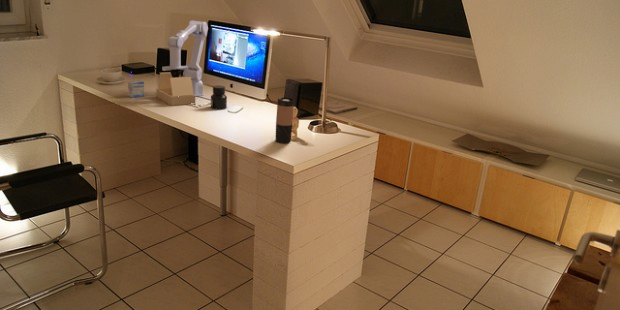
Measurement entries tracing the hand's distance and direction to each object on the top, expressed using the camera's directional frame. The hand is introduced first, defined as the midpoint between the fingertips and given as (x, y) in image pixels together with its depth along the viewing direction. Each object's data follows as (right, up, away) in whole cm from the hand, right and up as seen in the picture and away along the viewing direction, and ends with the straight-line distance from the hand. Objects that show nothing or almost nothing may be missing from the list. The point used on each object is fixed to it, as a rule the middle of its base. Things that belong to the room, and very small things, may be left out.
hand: (175, 82), depth 275 cm
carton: (-1, -10, +3) cm, 10 cm away
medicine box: (-24, -7, +5) cm, 26 cm away
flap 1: (-5, +2, +6) cm, 8 cm away
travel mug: (+64, -35, -49) cm, 88 cm away
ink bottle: (+25, -15, -3) cm, 29 cm away
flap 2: (+5, -3, -6) cm, 8 cm away
